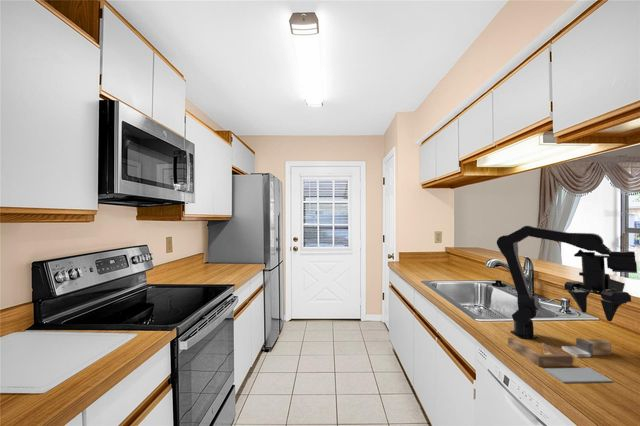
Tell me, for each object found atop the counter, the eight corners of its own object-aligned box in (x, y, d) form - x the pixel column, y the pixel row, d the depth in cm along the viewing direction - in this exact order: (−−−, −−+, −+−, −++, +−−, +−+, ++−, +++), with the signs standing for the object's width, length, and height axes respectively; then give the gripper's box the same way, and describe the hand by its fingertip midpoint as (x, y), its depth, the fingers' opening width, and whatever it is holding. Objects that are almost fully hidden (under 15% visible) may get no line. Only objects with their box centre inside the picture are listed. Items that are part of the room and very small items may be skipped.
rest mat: (543, 369, 89) (543, 368, 89) (589, 369, 89) (589, 367, 89) (563, 382, 82) (563, 381, 82) (612, 381, 82) (612, 380, 82)
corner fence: (508, 345, 106) (507, 337, 106) (537, 345, 106) (536, 337, 106) (538, 366, 91) (538, 356, 91) (572, 365, 91) (572, 356, 91)
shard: (541, 345, 106) (541, 340, 106) (569, 351, 102) (569, 346, 102) (543, 357, 97) (543, 352, 98) (573, 364, 93) (573, 358, 93)
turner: (598, 348, 103) (598, 337, 103) (616, 356, 97) (615, 344, 97) (561, 349, 103) (561, 337, 103) (577, 357, 97) (576, 345, 97)
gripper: (647, 274, 91) (651, 325, 90) (592, 265, 110) (594, 308, 109) (611, 275, 91) (614, 326, 90) (562, 266, 110) (564, 308, 109)
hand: (596, 316), depth 100 cm, fingers open, 9 cm apart
